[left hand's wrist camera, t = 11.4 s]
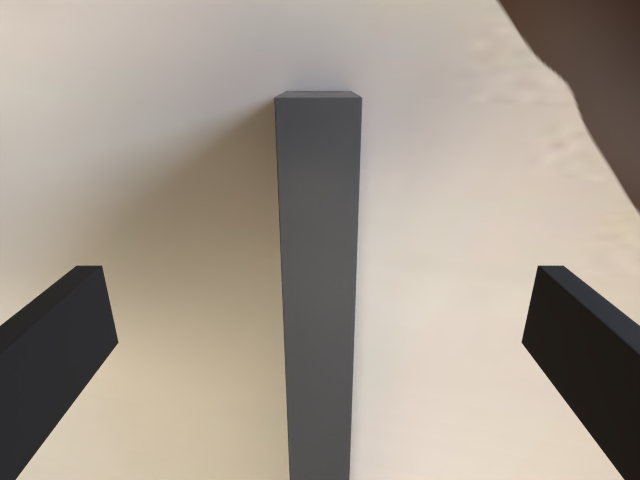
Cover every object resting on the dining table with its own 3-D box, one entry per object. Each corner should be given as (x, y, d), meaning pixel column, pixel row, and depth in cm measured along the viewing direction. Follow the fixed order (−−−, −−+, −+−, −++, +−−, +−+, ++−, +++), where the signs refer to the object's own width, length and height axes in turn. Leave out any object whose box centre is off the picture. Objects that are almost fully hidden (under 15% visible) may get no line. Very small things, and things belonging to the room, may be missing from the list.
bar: (286, 91, 32) (274, 97, 24) (351, 91, 32) (362, 97, 24) (302, 629, 58) (299, 719, 50) (338, 629, 58) (341, 719, 50)
